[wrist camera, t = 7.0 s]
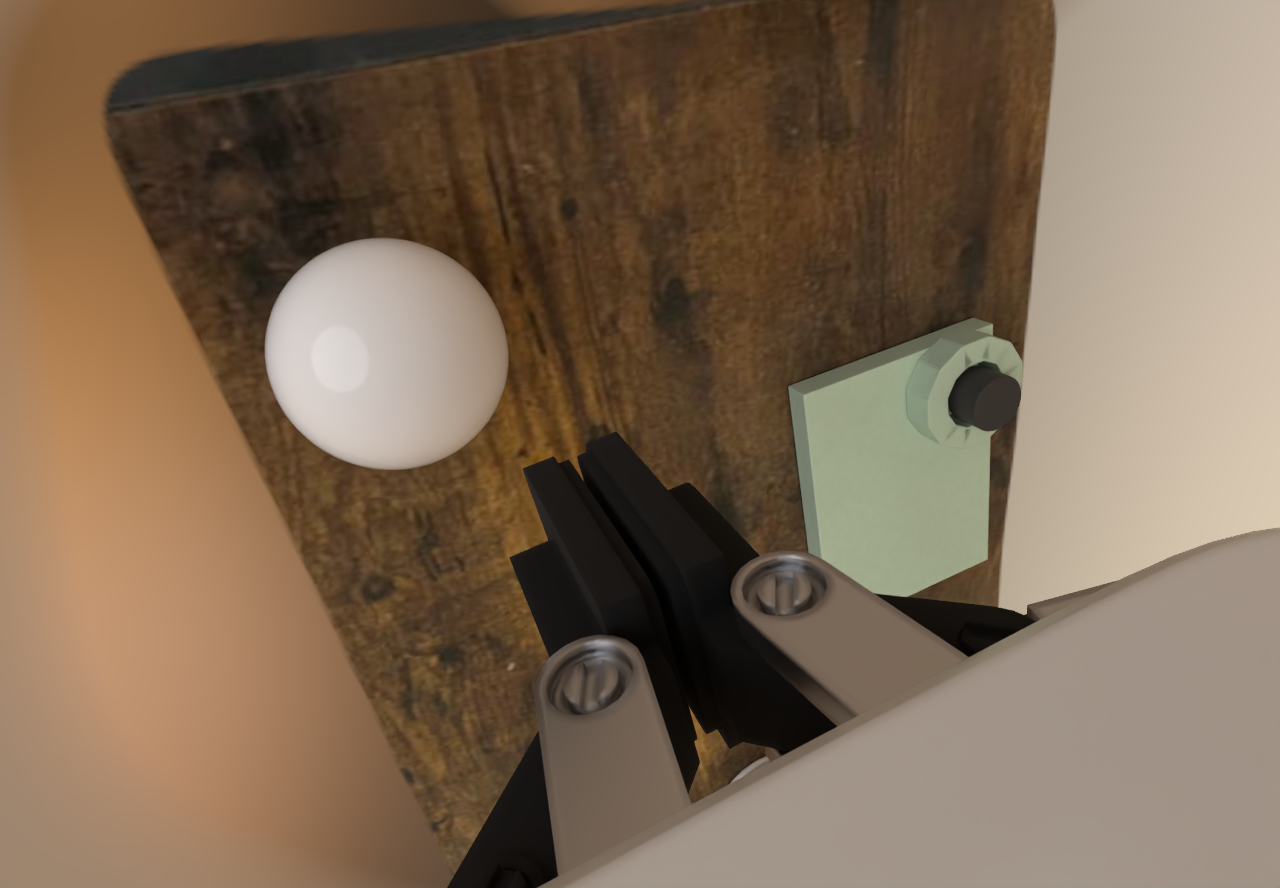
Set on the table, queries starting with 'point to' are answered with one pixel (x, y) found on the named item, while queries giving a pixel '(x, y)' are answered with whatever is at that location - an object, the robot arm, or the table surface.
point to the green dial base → (898, 461)
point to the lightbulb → (386, 353)
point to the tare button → (984, 398)
